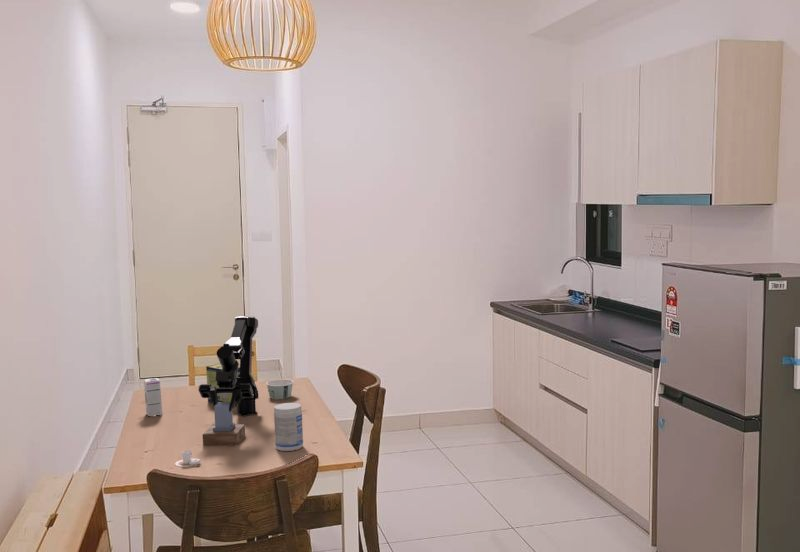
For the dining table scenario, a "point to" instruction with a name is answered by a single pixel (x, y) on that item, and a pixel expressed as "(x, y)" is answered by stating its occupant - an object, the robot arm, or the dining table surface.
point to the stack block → (224, 436)
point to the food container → (280, 388)
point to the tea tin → (223, 417)
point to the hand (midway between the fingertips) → (222, 411)
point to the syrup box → (153, 396)
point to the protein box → (211, 380)
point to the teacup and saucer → (187, 459)
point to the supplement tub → (288, 426)
